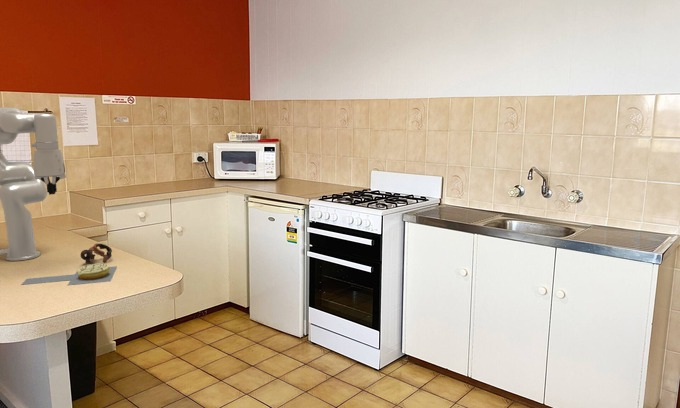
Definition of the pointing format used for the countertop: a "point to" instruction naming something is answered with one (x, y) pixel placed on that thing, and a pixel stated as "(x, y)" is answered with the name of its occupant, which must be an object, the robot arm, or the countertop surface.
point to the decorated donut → (93, 271)
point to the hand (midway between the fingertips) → (52, 193)
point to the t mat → (71, 278)
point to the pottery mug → (97, 251)
